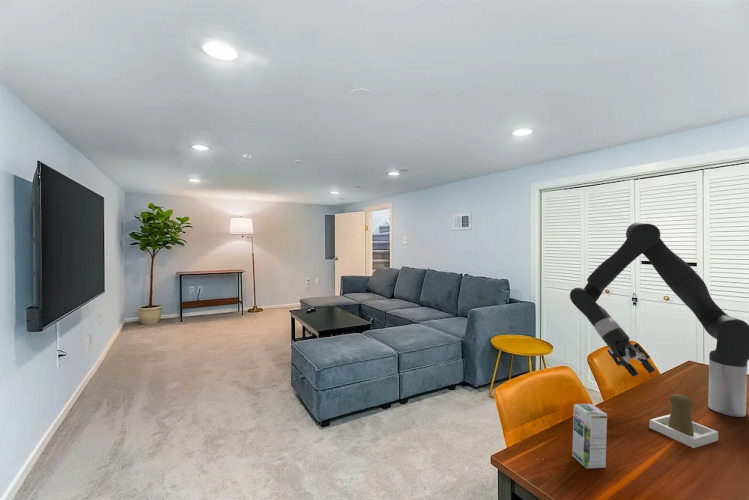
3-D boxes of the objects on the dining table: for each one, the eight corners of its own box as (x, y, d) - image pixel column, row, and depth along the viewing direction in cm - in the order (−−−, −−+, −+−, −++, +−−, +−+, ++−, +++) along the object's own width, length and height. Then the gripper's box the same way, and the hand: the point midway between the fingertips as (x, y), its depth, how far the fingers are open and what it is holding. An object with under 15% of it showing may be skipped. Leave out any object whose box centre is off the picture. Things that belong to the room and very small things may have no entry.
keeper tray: (672, 421, 113) (673, 413, 113) (717, 440, 102) (718, 431, 102) (649, 427, 109) (649, 419, 109) (693, 448, 98) (694, 439, 98)
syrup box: (571, 455, 94) (572, 403, 94) (591, 454, 95) (592, 402, 95) (585, 469, 89) (586, 414, 88) (607, 468, 89) (608, 413, 89)
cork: (699, 437, 102) (699, 401, 102) (675, 435, 104) (676, 399, 104) (685, 426, 108) (686, 392, 108) (663, 424, 110) (664, 390, 109)
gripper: (604, 329, 123) (638, 371, 112) (631, 325, 128) (666, 365, 117) (590, 339, 128) (622, 381, 117) (617, 335, 133) (649, 375, 122)
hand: (644, 373), depth 117 cm, fingers open, 8 cm apart
